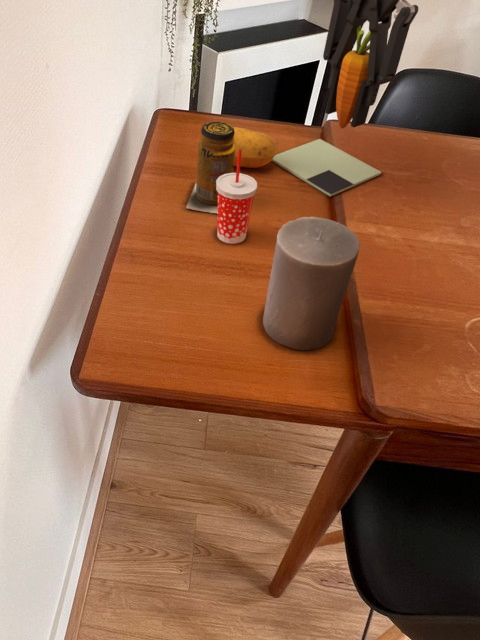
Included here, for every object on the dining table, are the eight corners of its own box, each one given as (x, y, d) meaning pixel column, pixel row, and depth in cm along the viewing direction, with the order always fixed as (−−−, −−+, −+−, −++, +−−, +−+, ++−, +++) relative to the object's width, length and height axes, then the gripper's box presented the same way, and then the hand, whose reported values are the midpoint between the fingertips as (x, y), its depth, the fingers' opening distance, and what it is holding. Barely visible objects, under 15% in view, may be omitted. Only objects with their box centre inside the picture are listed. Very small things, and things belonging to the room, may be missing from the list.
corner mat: (380, 174, 99) (381, 171, 99) (330, 196, 93) (330, 193, 93) (319, 140, 107) (319, 138, 107) (268, 159, 101) (269, 156, 101)
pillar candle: (345, 343, 69) (380, 248, 58) (277, 357, 67) (298, 261, 56) (315, 296, 75) (340, 201, 64) (251, 307, 73) (265, 211, 62)
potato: (266, 181, 96) (271, 145, 90) (196, 164, 99) (198, 128, 94) (279, 163, 100) (284, 127, 95) (212, 146, 103) (214, 111, 98)
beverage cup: (226, 219, 87) (233, 135, 76) (257, 233, 85) (270, 148, 74) (204, 236, 84) (209, 151, 73) (237, 251, 81) (247, 165, 71)
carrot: (325, 120, 90) (348, 18, 78) (354, 122, 90) (381, 20, 79) (329, 134, 87) (353, 29, 75) (359, 135, 87) (388, 31, 75)
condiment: (235, 189, 93) (242, 121, 84) (228, 215, 88) (235, 145, 79) (195, 184, 94) (198, 115, 85) (185, 209, 89) (187, 138, 79)
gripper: (320, -74, 72) (290, 103, 90) (429, -45, 63) (372, 145, 81) (356, -78, 75) (320, 93, 93) (464, -51, 66) (402, 133, 84)
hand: (344, 117), depth 87 cm, fingers closed on carrot, 5 cm apart
